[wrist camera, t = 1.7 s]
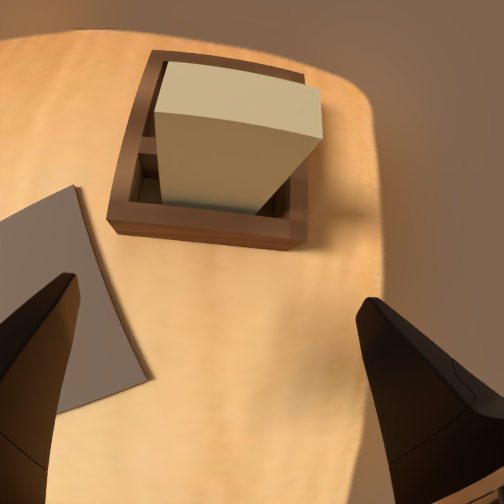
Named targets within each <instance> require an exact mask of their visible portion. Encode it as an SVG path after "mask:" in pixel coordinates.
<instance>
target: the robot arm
mask: <svg viewBox="0 0 504 504" xmlns="http://www.w3.org/2000/svg"><path fill="white" fill-rule="evenodd" d="M80 301H81V294H80V289H79V284H78V278H77V275H76V274H75V273H69V272H63V273H61V274H60V275H58V276H57V277H56V278H55V279H53V280H52V281H51V282H49V283H48V284H47V285H46V286H44V287H43V288H42V289H41V290H39V291H38V292H37V293H36V294H34V295H33V296H32V297H31V298H30V299H28V300H27V301H26V302H25V303H24V304H22V305H21V306H20V307H19V308H18V309H16V310H15V311H14V312H13V313H12V314H11V315H9V316H8V317H7V318H6V319H5V320H4V321H2V322H1V323H0V504H45V500H46V486H47V475H48V472H47V471H48V465H49V457H50V449H51V442H52V436H53V430H54V424H55V419H56V413H57V408H58V403H59V399H60V394H61V389H62V385H63V381H64V377H65V372H66V368H67V365H68V361H69V357H70V353H71V349H72V344H73V339H74V333H75V327H76V322H77V317H78V311H79V306H80ZM356 325H357V331H358V336H359V341H360V347H361V353H362V358H363V362H364V366H365V370H366V373H367V377H368V381H369V385H370V388H371V392H372V396H373V400H374V404H375V408H376V412H377V416H378V420H379V424H380V429H381V433H382V437H383V442H384V447H385V451H386V456H387V461H388V465H389V471H390V476H391V482H392V487H393V493H394V498H395V504H432V503H434V502H437V501H438V504H504V397H502V396H500V395H499V394H498V393H496V392H495V391H494V390H492V389H491V388H490V387H488V386H487V385H486V384H484V383H483V382H482V381H480V380H479V379H478V378H476V377H475V376H474V375H472V374H471V373H470V372H468V371H467V370H466V369H465V368H464V367H463V366H461V365H460V364H459V363H458V362H457V361H455V360H454V359H453V358H451V357H450V356H449V355H448V354H447V353H446V352H445V351H443V350H442V349H441V348H440V347H439V346H437V345H436V344H435V343H434V342H433V341H431V340H430V339H429V338H428V337H427V336H425V335H424V334H423V333H422V332H420V331H419V330H418V329H417V328H415V327H414V326H413V325H412V324H411V323H409V322H408V321H407V320H406V319H404V318H403V317H402V316H400V315H399V314H398V313H397V312H396V311H394V310H393V309H392V308H390V307H389V306H388V305H387V304H386V303H384V302H383V301H382V300H381V299H379V298H377V297H368V298H366V299H365V300H364V302H363V304H362V306H361V307H360V309H359V311H358V313H357V315H356Z"/></svg>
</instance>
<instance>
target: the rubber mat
mask: <svg viewBox="0 0 504 504" xmlns="http://www.w3.org/2000/svg"><path fill="white" fill-rule="evenodd" d="M63 272H69V273H75V274H76V275H77V278H78V284H79V289H80V294H81V301H80V306H79V311H78V317H77V322H76V327H75V333H74V339H73V344H72V349H71V353H70V357H69V361H68V365H67V368H66V372H65V377H64V381H63V385H62V389H61V394H60V399H59V403H58V408H57V413H60V412H63V411H66V410H69V409H72V408H74V407H77V406H80V405H83V404H86V403H89V402H92V401H94V400H97V399H100V398H103V397H105V396H108V395H111V394H113V393H116V392H119V391H121V390H124V389H127V388H129V387H132V386H134V385H137V384H139V383H142V382H144V381H147V379H148V378H147V376H146V374H145V372H144V370H143V368H142V366H141V364H140V362H139V360H138V358H137V356H136V354H135V352H134V349H133V347H132V345H131V343H130V341H129V339H128V336H127V334H126V332H125V330H124V327H123V325H122V323H121V320H120V318H119V316H118V313H117V311H116V308H115V306H114V303H113V301H112V298H111V296H110V293H109V291H108V288H107V286H106V283H105V280H104V278H103V275H102V272H101V269H100V266H99V264H98V261H97V258H96V255H95V252H94V249H93V246H92V243H91V240H90V237H89V233H88V230H87V227H86V224H85V220H84V217H83V213H82V210H81V206H80V203H79V199H78V195H77V191H76V187H75V186H74V185H71V186H69V187H67V188H65V189H63V190H61V191H58V192H56V193H54V194H52V195H50V196H48V197H46V198H44V199H42V200H40V201H38V202H36V203H34V204H32V205H30V206H28V207H26V208H24V209H23V210H21V211H19V212H17V213H15V214H13V215H11V216H10V217H8V218H6V219H4V220H2V221H1V222H0V323H1V322H2V321H4V320H5V319H6V318H7V317H8V316H9V315H11V314H12V313H13V312H14V311H15V310H16V309H18V308H19V307H20V306H21V305H22V304H24V303H25V302H26V301H27V300H28V299H30V298H31V297H32V296H33V295H34V294H36V293H37V292H38V291H39V290H41V289H42V288H43V287H44V286H46V285H47V284H48V283H49V282H51V281H52V280H53V279H55V278H56V277H57V276H58V275H60V274H61V273H63Z"/></svg>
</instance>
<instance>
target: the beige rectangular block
mask: <svg viewBox="0 0 504 504" xmlns="http://www.w3.org/2000/svg"><path fill="white" fill-rule="evenodd" d="M154 116H155V132H156V145H157V158H158V169H159V179H160V189H161V198H162V205H169V206H178V207H188V208H197V209H206V210H215V211H223V212H232V213H240V214H248V215H255V214H256V213H257V212H258V211H259V210H260V209H261V207H262V206H263V205H264V204H265V203H266V202H267V201H268V200H269V198H270V197H271V196H272V195H273V194H274V193H275V192H276V191H277V189H278V188H279V187H280V186H281V185H282V184H283V183H284V182H285V181H286V179H287V178H288V177H289V176H290V175H291V174H292V173H293V172H294V171H295V169H296V168H297V167H298V166H299V165H300V164H301V163H302V162H303V161H304V160H305V158H306V157H307V156H308V155H309V154H310V153H311V152H312V151H313V150H314V149H315V147H316V146H317V145H318V144H319V143H320V142H321V141H322V140H323V128H322V112H321V98H320V89H319V88H315V87H311V86H308V85H304V84H300V83H296V82H292V81H288V80H284V79H280V78H275V77H271V76H266V75H261V74H256V73H251V72H246V71H240V70H234V69H228V68H222V67H215V66H208V65H200V64H192V63H182V62H171V61H169V62H168V65H167V69H166V72H165V75H164V78H163V82H162V85H161V89H160V92H159V96H158V100H157V103H156V107H155V111H154Z"/></svg>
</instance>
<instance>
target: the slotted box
mask: <svg viewBox="0 0 504 504" xmlns="http://www.w3.org/2000/svg"><path fill="white" fill-rule="evenodd" d="M169 61H171V62H182V63H192V64H200V65H208V66H215V67H222V68H228V69H234V70H240V71H246V72H251V73H256V74H261V75H266V76H271V77H275V78H280V79H284V80H288V81H292V82H296V83H300V84H304V85H305V79H304V74H301V73H297V72H293V71H289V70H285V69H281V68H277V67H272V66H268V65H263V64H258V63H253V62H248V61H243V60H237V59H231V58H225V57H219V56H212V55H204V54H196V53H186V52H176V51H163V50H152V51H151V54H150V57H149V59H148V62H147V65H146V67H145V70H144V73H143V76H142V79H141V82H140V85H139V88H138V91H137V94H136V97H135V100H134V103H133V107H132V110H131V113H130V117H129V120H128V124H127V127H126V131H125V135H124V138H123V142H122V146H121V150H120V154H119V158H118V162H117V167H116V171H115V176H114V180H113V185H112V190H111V195H110V200H109V206H108V211H107V217H106V220H107V221H108V222H109V224H110V225H111V226H112V227H113V229H114V230H115V231H116V233H117V234H121V235H131V236H141V237H151V238H161V239H171V240H180V241H190V242H200V243H210V244H220V245H229V246H239V247H249V248H258V249H268V250H278V251H287V250H289V249H291V248H293V247H295V246H297V245H299V244H301V243H303V242H305V241H307V157H306V158H305V160H304V161H303V162H302V163H301V164H300V165H299V166H298V167H297V168H296V169H295V171H294V172H293V173H292V174H291V175H290V176H289V177H288V178H287V179H286V181H285V182H284V183H283V184H282V185H281V186H280V187H279V188H278V189H277V191H276V192H275V193H274V194H273V203H272V218H271V217H263V216H256V215H248V214H240V213H232V212H223V211H215V210H206V209H197V208H188V207H178V206H169V205H159V204H149V203H139V198H140V192H141V186H142V181H143V177H147V178H157V179H159V169H158V158H157V145H156V132H155V116H154V111H155V107H156V103H157V100H158V96H159V92H160V89H161V85H162V82H163V78H164V75H165V72H166V69H167V65H168V62H169Z"/></svg>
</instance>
